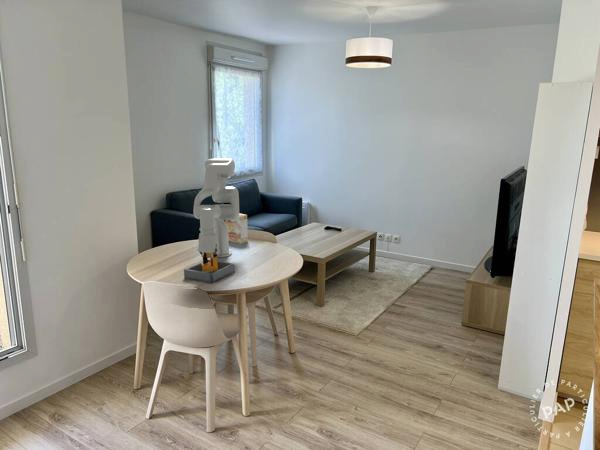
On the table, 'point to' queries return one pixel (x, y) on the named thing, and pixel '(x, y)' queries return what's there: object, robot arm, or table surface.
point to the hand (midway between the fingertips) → (209, 264)
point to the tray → (209, 272)
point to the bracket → (208, 265)
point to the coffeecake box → (238, 229)
